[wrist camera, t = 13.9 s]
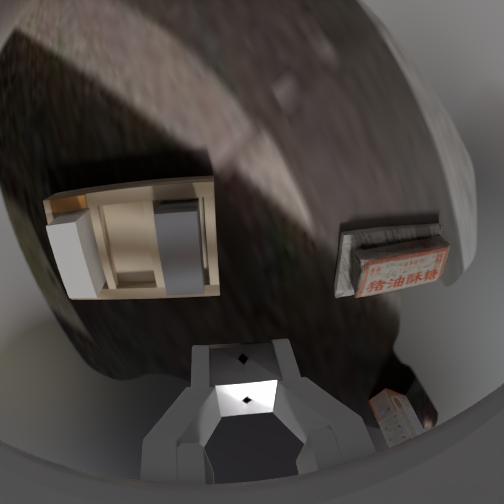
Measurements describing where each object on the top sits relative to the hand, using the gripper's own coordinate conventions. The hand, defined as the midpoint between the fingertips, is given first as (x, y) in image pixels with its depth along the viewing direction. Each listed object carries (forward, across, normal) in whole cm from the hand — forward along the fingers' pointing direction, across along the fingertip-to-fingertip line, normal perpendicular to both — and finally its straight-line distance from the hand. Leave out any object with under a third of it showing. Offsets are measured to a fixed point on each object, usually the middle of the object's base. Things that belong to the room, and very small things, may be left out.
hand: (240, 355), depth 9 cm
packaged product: (+24, -24, +11) cm, 35 cm away
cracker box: (+23, -39, +53) cm, 70 cm away
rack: (+23, +10, +6) cm, 26 cm away
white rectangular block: (+22, +17, +6) cm, 28 cm away
